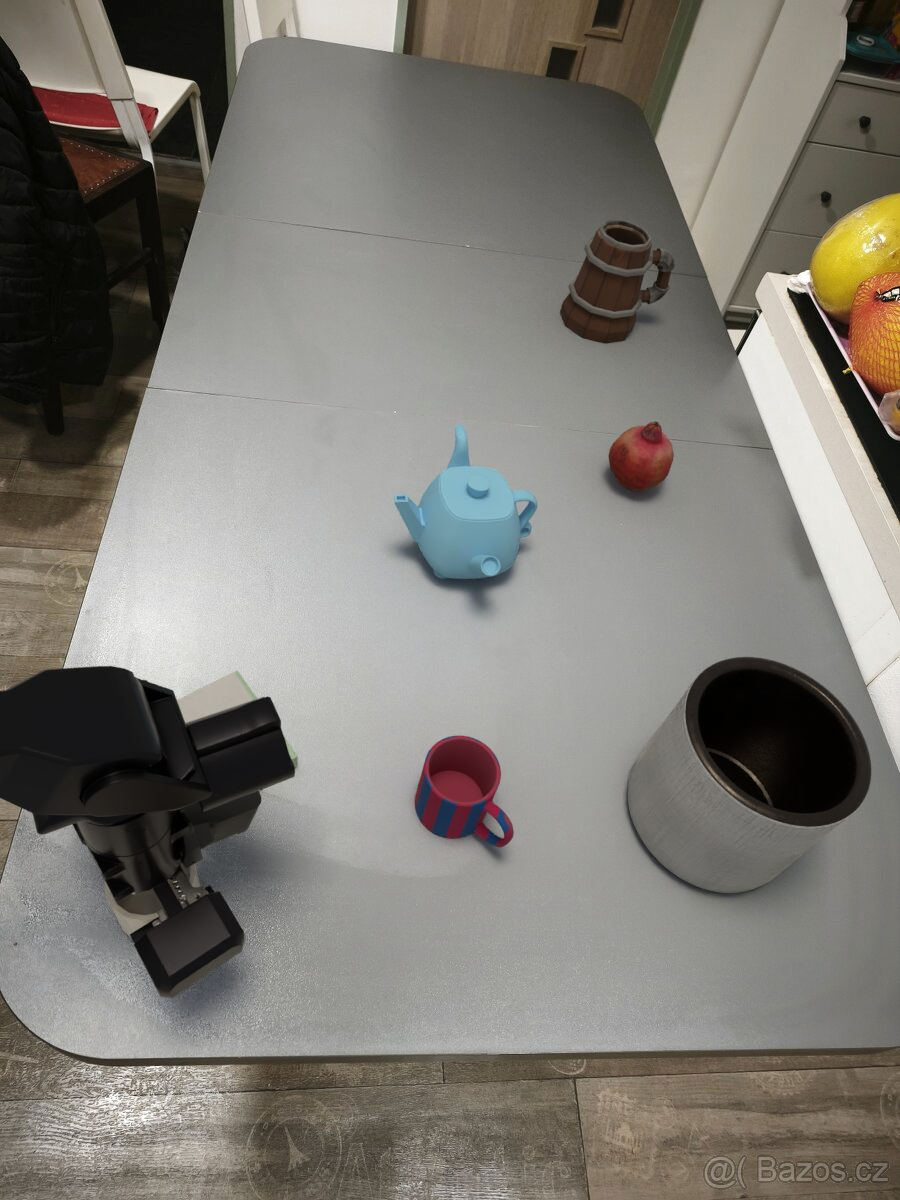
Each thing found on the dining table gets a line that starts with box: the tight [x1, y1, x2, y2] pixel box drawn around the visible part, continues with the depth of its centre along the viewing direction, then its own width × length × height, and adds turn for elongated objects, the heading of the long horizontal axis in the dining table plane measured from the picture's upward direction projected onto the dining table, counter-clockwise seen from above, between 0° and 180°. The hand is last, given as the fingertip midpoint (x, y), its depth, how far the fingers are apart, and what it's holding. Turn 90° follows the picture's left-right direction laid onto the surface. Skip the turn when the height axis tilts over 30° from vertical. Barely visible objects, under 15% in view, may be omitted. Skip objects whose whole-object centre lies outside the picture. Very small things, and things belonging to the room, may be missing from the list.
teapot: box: [393, 423, 538, 580], centre depth 91 cm, size 15×14×11 cm
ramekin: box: [104, 863, 201, 939], centre depth 63 cm, size 6×6×6 cm
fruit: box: [608, 420, 675, 492], centre depth 104 cm, size 8×8×10 cm
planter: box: [627, 656, 872, 894], centre depth 72 cm, size 16×16×16 cm
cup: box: [414, 735, 515, 848], centre depth 72 cm, size 7×10×7 cm
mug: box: [559, 218, 676, 344], centre depth 126 cm, size 16×12×15 cm
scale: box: [177, 670, 299, 769], centre depth 74 cm, size 11×11×2 cm
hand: (157, 897), depth 64 cm, fingers closed on ramekin, 6 cm apart
